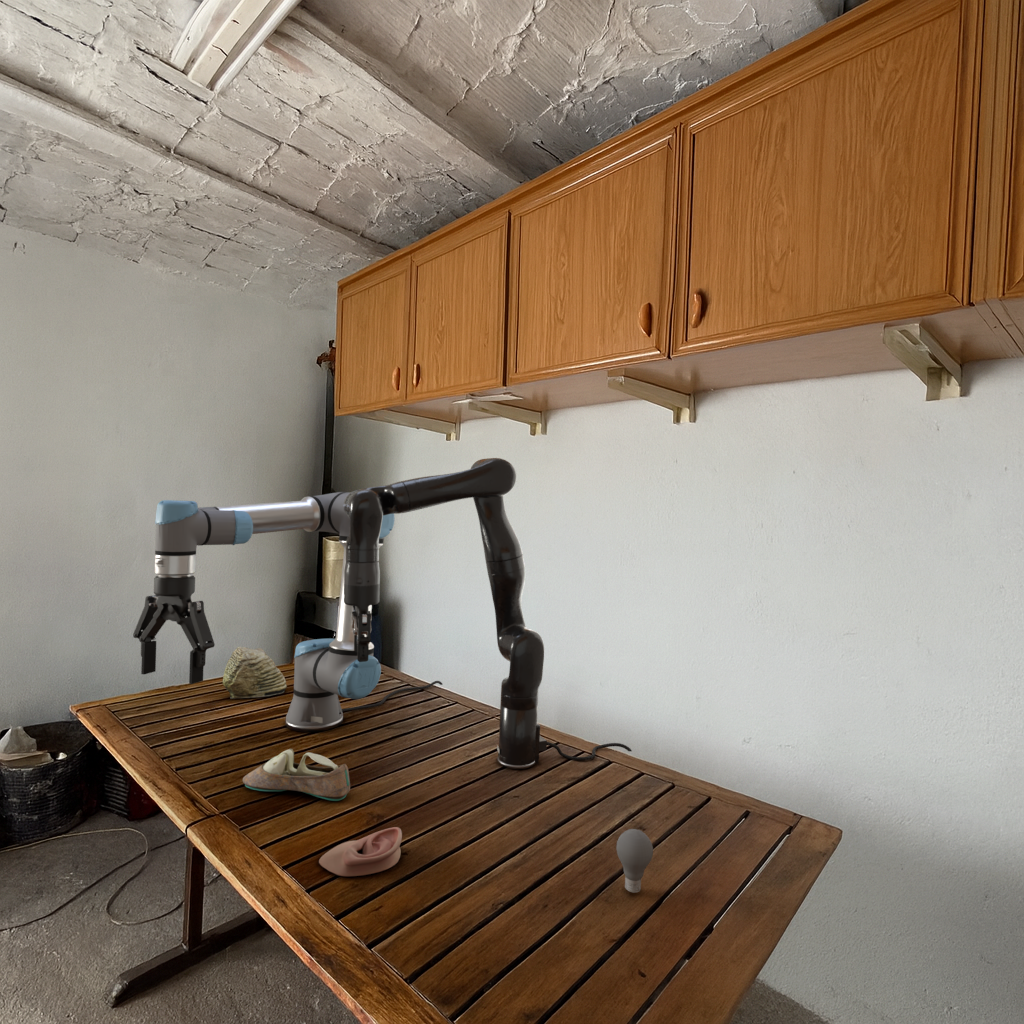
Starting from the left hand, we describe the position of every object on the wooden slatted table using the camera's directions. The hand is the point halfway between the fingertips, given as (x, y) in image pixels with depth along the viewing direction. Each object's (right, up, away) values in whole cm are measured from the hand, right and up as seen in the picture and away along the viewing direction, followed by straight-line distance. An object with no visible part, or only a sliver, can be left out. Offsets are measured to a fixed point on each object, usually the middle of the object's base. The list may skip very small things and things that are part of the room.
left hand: (171, 677), depth 131 cm
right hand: (+38, +3, +6) cm, 38 cm away
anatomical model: (+44, -27, -19) cm, 55 cm away
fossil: (-10, -23, +67) cm, 72 cm away
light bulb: (+90, -29, -25) cm, 98 cm away
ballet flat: (+24, -26, +6) cm, 36 cm away
